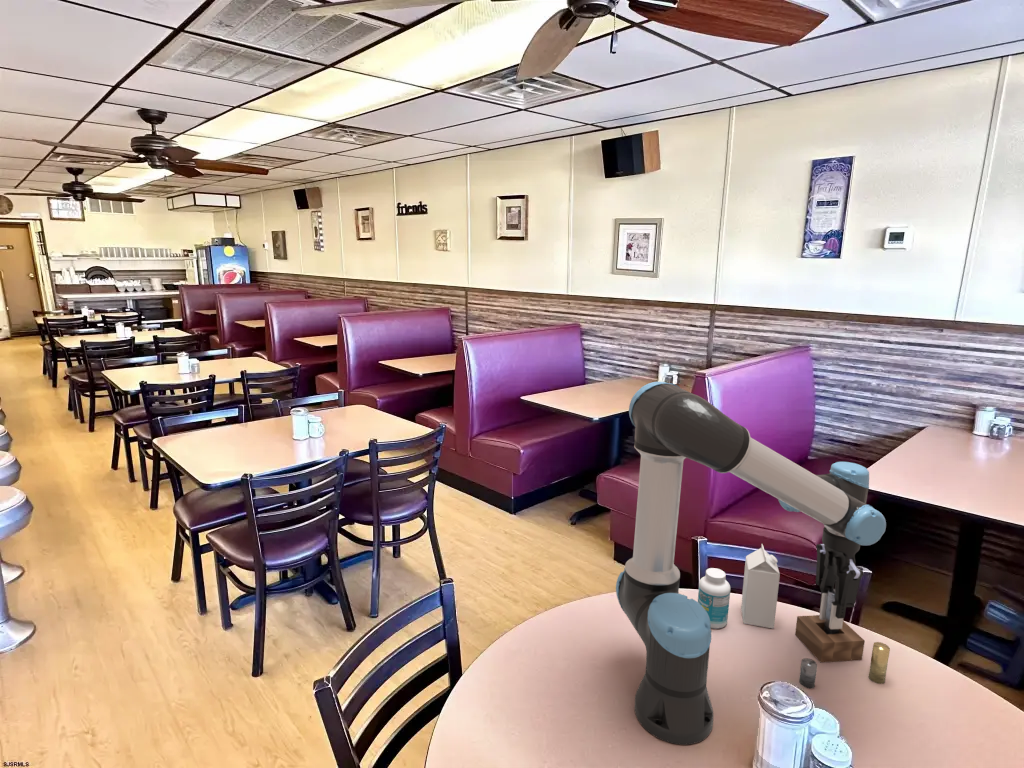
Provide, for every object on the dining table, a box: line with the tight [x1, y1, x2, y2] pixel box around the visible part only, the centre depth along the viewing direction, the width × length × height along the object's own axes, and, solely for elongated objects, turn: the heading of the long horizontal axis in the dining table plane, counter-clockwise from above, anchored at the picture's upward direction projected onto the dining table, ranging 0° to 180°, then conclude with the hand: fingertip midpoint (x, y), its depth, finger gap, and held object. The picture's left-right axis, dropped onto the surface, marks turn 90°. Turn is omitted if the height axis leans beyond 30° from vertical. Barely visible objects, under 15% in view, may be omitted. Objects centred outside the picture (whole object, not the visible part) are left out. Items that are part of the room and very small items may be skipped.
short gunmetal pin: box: [798, 657, 818, 689], centre depth 121 cm, size 3×3×5 cm
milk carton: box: [740, 543, 781, 629], centre depth 143 cm, size 7×7×19 cm
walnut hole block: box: [794, 614, 865, 663], centre depth 133 cm, size 10×10×5 cm
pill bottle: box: [697, 567, 731, 630], centre depth 142 cm, size 8×7×14 cm
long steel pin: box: [824, 588, 839, 634], centre depth 132 cm, size 3×3×13 cm
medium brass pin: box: [868, 641, 891, 685], centre depth 122 cm, size 3×3×8 cm
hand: (830, 623), depth 132 cm, fingers closed on long steel pin, 3 cm apart
